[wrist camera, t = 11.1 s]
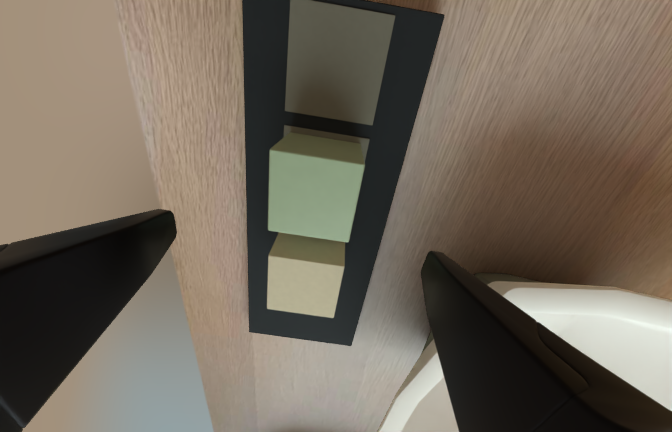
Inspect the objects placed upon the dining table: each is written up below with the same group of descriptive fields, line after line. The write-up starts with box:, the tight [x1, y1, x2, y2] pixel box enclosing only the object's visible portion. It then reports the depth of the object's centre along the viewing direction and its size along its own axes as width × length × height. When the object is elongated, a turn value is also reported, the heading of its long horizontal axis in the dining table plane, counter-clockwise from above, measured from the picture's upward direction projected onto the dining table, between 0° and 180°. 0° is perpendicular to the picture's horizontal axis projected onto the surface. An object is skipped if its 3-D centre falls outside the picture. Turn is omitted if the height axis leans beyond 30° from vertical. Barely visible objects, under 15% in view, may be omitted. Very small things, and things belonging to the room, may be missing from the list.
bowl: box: [377, 273, 672, 432], centre depth 20 cm, size 22×23×8 cm
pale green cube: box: [268, 132, 365, 242], centre depth 14 cm, size 4×4×4 cm
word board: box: [242, 0, 444, 346], centre depth 17 cm, size 10×26×5 cm, turn 171°
